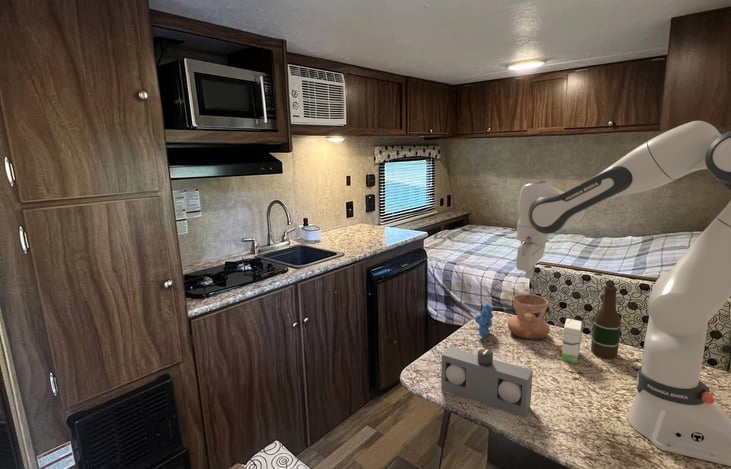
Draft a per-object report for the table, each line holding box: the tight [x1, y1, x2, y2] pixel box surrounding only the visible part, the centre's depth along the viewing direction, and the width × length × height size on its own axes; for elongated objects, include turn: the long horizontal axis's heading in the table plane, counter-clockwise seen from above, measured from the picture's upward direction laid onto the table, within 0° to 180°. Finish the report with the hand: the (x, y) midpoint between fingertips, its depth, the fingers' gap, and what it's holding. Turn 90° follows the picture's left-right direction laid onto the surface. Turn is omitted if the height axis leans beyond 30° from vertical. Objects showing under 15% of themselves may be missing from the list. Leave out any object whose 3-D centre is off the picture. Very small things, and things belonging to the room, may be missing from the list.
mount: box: [440, 346, 533, 419], centre depth 109 cm, size 24×6×11 cm, turn 55°
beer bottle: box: [590, 284, 622, 360], centre depth 130 cm, size 8×8×24 cm
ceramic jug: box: [507, 293, 550, 340], centre depth 147 cm, size 18×14×14 cm
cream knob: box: [498, 380, 522, 403], centre depth 105 cm, size 7×8×7 cm
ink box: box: [561, 318, 583, 364], centre depth 130 cm, size 9×5×12 cm, turn 149°
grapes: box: [474, 303, 494, 339], centre depth 147 cm, size 12×7×12 cm, turn 147°
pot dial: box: [477, 348, 494, 366], centre depth 107 cm, size 4×4×3 cm
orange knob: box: [446, 364, 466, 385], centre depth 114 cm, size 7×8×7 cm
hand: (529, 277), depth 123 cm, fingers closed
